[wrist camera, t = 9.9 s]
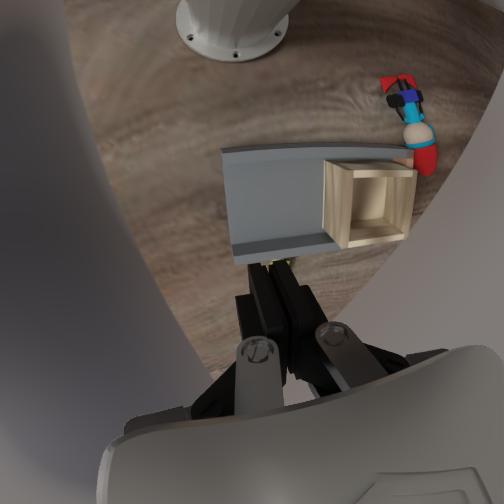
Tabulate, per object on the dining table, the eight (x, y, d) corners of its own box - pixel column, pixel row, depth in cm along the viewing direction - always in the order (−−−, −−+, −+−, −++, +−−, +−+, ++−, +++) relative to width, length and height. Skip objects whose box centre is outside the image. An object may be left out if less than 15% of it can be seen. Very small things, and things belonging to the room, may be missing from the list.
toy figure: (368, 81, 29) (400, 181, 34) (389, 73, 24) (423, 184, 29) (403, 76, 29) (431, 167, 34) (425, 69, 25) (453, 169, 30)
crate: (322, 227, 35) (341, 248, 30) (323, 159, 31) (346, 170, 26) (383, 220, 36) (407, 238, 31) (389, 159, 32) (417, 170, 27)
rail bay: (231, 248, 36) (234, 265, 32) (220, 148, 30) (222, 153, 26) (387, 228, 39) (402, 240, 35) (395, 144, 32) (414, 150, 29)
